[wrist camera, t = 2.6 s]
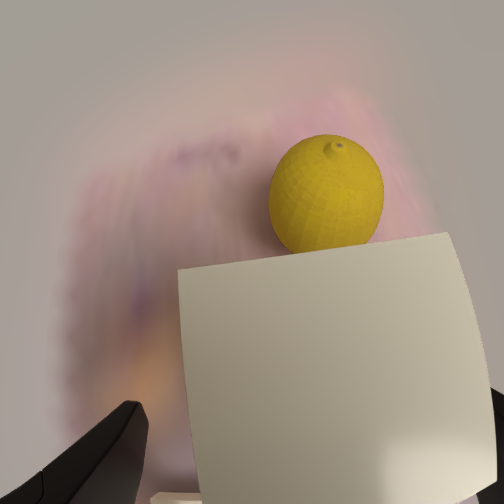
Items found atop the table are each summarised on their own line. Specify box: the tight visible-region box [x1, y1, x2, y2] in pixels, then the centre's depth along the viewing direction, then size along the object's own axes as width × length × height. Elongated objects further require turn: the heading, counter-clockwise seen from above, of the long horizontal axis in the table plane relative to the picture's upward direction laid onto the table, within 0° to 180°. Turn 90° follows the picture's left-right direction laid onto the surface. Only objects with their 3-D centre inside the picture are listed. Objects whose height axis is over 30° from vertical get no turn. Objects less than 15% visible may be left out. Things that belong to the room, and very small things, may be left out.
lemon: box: [268, 134, 384, 254], centre depth 15 cm, size 6×6×8 cm
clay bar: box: [177, 232, 497, 504], centre depth 9 cm, size 4×4×13 cm
